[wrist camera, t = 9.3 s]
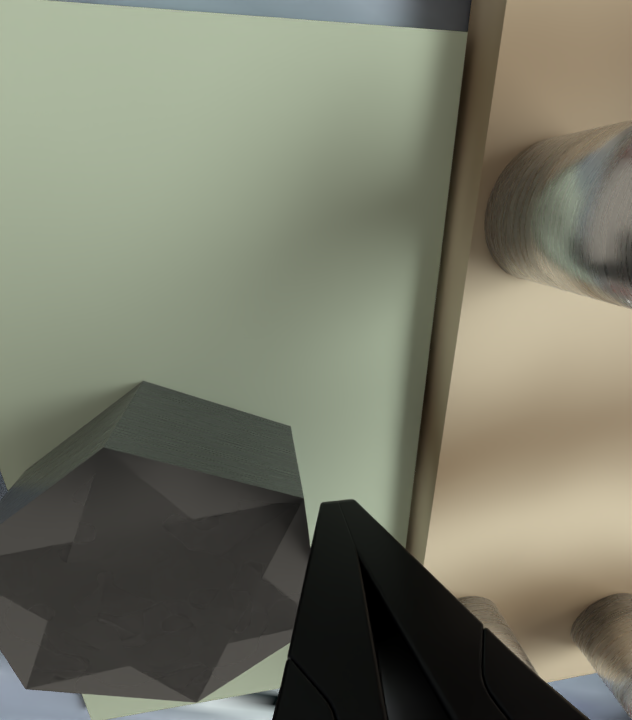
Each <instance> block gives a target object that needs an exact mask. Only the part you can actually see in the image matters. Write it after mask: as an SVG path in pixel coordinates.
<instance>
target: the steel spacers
mask: <svg viewBox="0 0 632 720" xmlns="http://www.w3.org/2000/svg"><path fill="white" fill-rule="evenodd" d="M484 227H485V238H486V242H487V246H488V249H489V251H490V254H491V256H492V257H493V259H494V261H495V262H496V263H497V264H498V265H499V267H500V268H502V269H503V270H504V271H505V272H507V273H508V274H510V275H512V276H515V277H517V278H520V279H524V280H528V281H531V282H535V283H539V284H542V285H546V286H549V287H553V288H557V289H560V290H564V291H567V292H571V293H575V294H578V295H582V296H585V297H589V298H593V299H596V300H600V301H603V302H607V303H611V304H614V305H618V306H622V307H625V308H629V309H632V120H630V121H625V122H621V123H616V124H611V125H607V126H602V127H598V128H593V129H588V130H584V131H579V132H575V133H570V134H565V135H561V136H556V137H552V138H547V139H544V140H541V141H538V142H536V143H534V144H532V145H530V146H529V147H527V148H526V149H524V150H523V151H521V152H520V153H519V154H518V155H517V156H516V157H515V158H513V159H512V161H511V162H510V163H509V164H508V165H507V166H506V167H505V169H504V170H503V171H502V173H501V174H500V176H499V177H498V179H497V181H496V183H495V185H494V187H493V189H492V191H491V194H490V197H489V200H488V203H487V207H486V212H485V221H484ZM458 600H459V601H460V602H461V603H462V604H463V605H464V606H465V607H466V608H467V609H468V610H469V611H470V612H471V613H472V614H474V615H475V616H476V617H477V618H478V619H479V620H480V621H481V622H482V623H483V626H484V628H485V627H486V628H488V629H489V630H490V631H491V632H492V633H493V634H494V635H495V636H497V637H498V638H499V639H500V640H501V641H502V642H503V643H504V644H505V645H506V646H507V647H508V648H509V649H510V650H511V651H512V652H513V653H514V654H516V655H517V656H518V657H519V658H520V659H521V660H522V661H523V662H524V663H525V664H526V665H527V666H528V667H530V668H531V669H532V670H533V671H534V672H535V673H536V674H537V675H538V673H537V671H536V670H535V668H534V666H533V665H532V663H531V661H530V660H529V658H528V657H527V655H526V653H525V652H524V650H523V648H522V647H521V645H520V644H519V642H518V640H517V639H516V637H515V635H514V634H513V632H512V631H511V629H510V627H509V626H508V624H507V622H506V621H505V619H504V618H503V616H502V614H501V613H500V611H499V609H498V608H497V606H496V605H495V603H493V602H492V601H491V600H489V599H487V598H484V597H479V596H468V597H462V598H458ZM484 628H483V629H484ZM571 638H572V640H573V641H574V643H575V644H576V645H577V647H578V648H579V649H580V651H581V652H582V653H583V655H584V656H585V657H586V659H587V660H588V662H589V663H590V664H591V666H592V667H593V668H594V670H595V671H596V672H597V674H598V675H599V676H600V678H601V679H602V680H603V682H604V683H605V684H606V686H607V687H608V689H609V690H610V691H611V693H612V694H613V695H614V697H615V698H616V699H617V701H618V702H619V703H620V705H621V706H622V707H623V709H624V710H625V711H626V713H627V714H628V716H629V717H630V718H631V720H632V594H628V593H619V594H613V595H610V596H607V597H604V598H602V599H600V600H598V601H596V602H594V603H593V604H591V605H590V606H588V607H587V608H586V609H585V610H584V611H583V612H581V614H580V615H579V616H578V617H577V618H576V620H575V621H574V623H573V625H572V628H571ZM538 676H539V675H538ZM539 677H540V676H539Z"/></svg>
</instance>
